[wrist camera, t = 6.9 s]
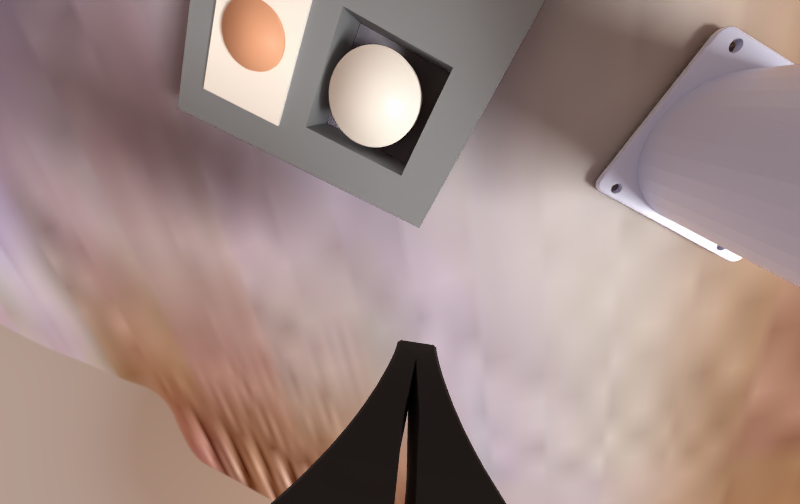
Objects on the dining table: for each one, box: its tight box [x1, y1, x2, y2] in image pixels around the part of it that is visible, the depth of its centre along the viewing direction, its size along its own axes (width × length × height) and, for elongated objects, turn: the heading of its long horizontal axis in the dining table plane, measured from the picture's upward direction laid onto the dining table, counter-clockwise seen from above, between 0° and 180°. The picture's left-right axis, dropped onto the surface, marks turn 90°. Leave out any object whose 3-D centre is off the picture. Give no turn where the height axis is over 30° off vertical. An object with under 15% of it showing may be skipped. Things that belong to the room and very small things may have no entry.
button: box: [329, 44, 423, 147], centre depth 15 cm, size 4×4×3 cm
